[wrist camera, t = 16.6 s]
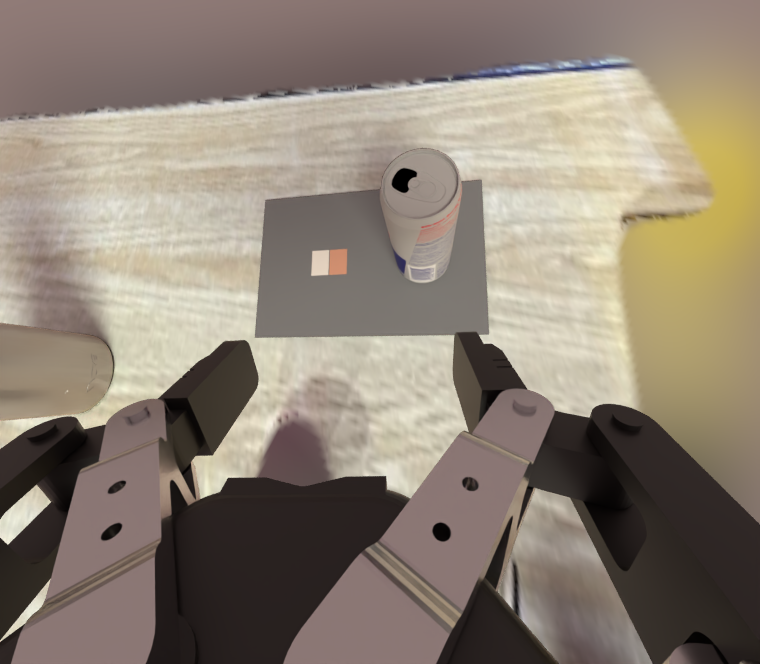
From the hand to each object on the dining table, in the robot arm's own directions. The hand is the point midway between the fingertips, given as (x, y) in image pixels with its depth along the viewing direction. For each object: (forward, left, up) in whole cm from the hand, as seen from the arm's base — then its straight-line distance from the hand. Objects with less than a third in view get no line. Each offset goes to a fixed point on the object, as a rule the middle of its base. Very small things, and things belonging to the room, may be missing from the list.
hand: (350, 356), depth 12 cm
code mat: (-3, +11, -18) cm, 22 cm away
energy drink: (+2, +11, -18) cm, 21 cm away
